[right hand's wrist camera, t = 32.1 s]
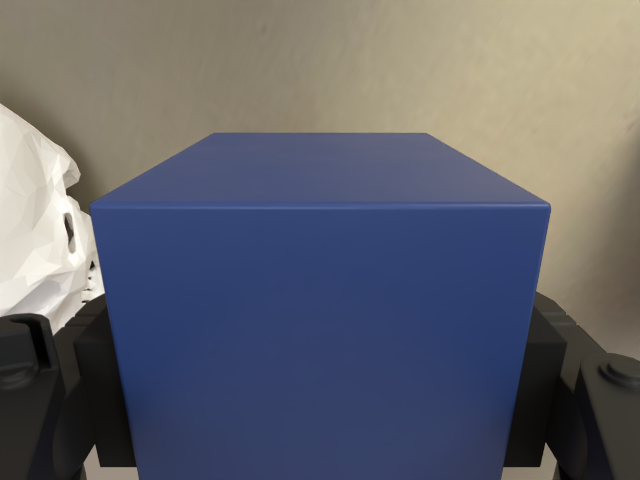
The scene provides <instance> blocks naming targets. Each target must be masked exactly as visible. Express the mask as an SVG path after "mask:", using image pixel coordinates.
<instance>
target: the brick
mask: <svg viewBox="0 0 640 480" xmlns="http://www.w3.org/2000/svg"><path fill="white" fill-rule="evenodd" d="M89 210H90V216H91V221H92V227H93V232H94V237H95V243H96V248H97V254H98V259H99V265H100V270H101V275H102V281H103V286H104V292H105V297H106V303H107V308H108V313H109V319H110V324H111V330H112V335H113V340H114V346H115V351H116V357H117V362H118V368H119V373H120V378H121V384H122V389H123V395H124V400H125V406H126V411H127V416H128V422H129V427H130V433H131V438H132V444H133V449H134V454H135V460H136V465H137V471H138V476H139V480H501V476H502V471H503V465H504V460H505V455H506V449H507V444H508V438H509V433H510V428H511V422H512V417H513V412H514V406H515V401H516V395H517V390H518V385H519V379H520V374H521V369H522V363H523V358H524V352H525V347H526V342H527V336H528V331H529V326H530V320H531V315H532V309H533V304H534V299H535V293H536V288H537V283H538V277H539V272H540V266H541V261H542V256H543V250H544V245H545V240H546V234H547V229H548V223H549V218H550V213H551V206H550V204H549V203H548V202H546V201H544V200H542V199H541V198H539V197H537V196H535V195H534V194H532V193H530V192H528V191H527V190H525V189H523V188H522V187H520V186H518V185H516V184H515V183H513V182H511V181H509V180H508V179H506V178H504V177H502V176H501V175H499V174H497V173H495V172H494V171H492V170H490V169H488V168H487V167H485V166H483V165H481V164H480V163H478V162H476V161H474V160H473V159H471V158H469V157H467V156H466V155H464V154H462V153H460V152H459V151H457V150H455V149H454V148H452V147H450V146H448V145H447V144H445V143H443V142H441V141H440V140H438V139H436V138H434V137H433V136H431V135H429V134H427V133H213V134H211V135H209V136H208V137H206V138H204V139H202V140H201V141H199V142H197V143H195V144H194V145H192V146H190V147H188V148H187V149H185V150H183V151H181V152H180V153H178V154H176V155H174V156H173V157H171V158H169V159H167V160H166V161H164V162H162V163H160V164H159V165H157V166H155V167H153V168H152V169H150V170H148V171H146V172H145V173H143V174H141V175H139V176H138V177H136V178H134V179H132V180H131V181H129V182H127V183H125V184H124V185H122V186H120V187H118V188H117V189H115V190H113V191H111V192H110V193H108V194H106V195H104V196H103V197H101V198H99V199H97V200H96V201H94V202H92V203H91V204H90V208H89Z"/></svg>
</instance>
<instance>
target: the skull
mask: <svg viewBox="0 0 640 480" xmlns="http://www.w3.org/2000/svg"><path fill="white" fill-rule="evenodd" d="M80 175H81V174H80V172H79V169H78V167H77V165H76V163H75V162H74V160H73V159H72V158H71V157H70V156H69V155H68V154H67V152H66V151H65V150H64V149H63V148H62V147H60V146H59V145H57V144H55V143H53V142H52V141H51V140H49V139H48V138H47V137H45V136H44V135H43V134H42V133H41V132H39V131H38V130H37V129H36V128H35V127H33V126H32V125H30V124H29V123H28V122H26V121H25V120H24V119H22V118H21V117H19V116H18V115H17V114H15V113H14V112H12V111H11V110H9V109H8V108H6V107H5V106H3V105H2V104H0V317H2V316H7V315H12V314H21V313H34V314H41V315H43V316H45V317H46V318H48V319H49V321H50V325H51V329H52V333H53V335H54V334H55V333H56V332H57V331H58V330H59V329H60V328H61V327H65V324H66V323H67V322H68V321H69V320H70V319H71V318H72V317H75V314H76V313H77V312H78V311H79V310H80V309H81V308H82V307H83V306H84V305H85V304H86V303H82V301H84V300H86V301H87V302H89V301H90V300H92V299H94V298H96V297H98V296H100V295H102V294H103V293H105V292H104V286H103V281H102V275H101V270H100V265H99V259H98V254H97V248H96V243H95V237H94V232H93V227H92V221H91V216H89V215H88V214H86V213H84V212H82V211H81V210H80V207H79V204H78V202H77V201H75V200H74V199H73V198H71V197H70V196H67V195H66V188H68V187H70V186H72V185H74V184H75V183H77V182H78V181H79V178H80ZM65 215H66V218H67V221H68V223H69V226H70V228H71V230H72V232H73V233H74V235H73V237H72V239H71V241H70V243H69V245H68V235H67V232H66V228H65V225H64V221H65ZM92 261H93V262H94V265H95V266H94V267H93V268H92V269H90V265H91V262H92ZM88 277H90V279H88ZM87 289H90V291H87ZM83 290H86V291H83Z"/></svg>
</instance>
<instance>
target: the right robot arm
mask: <svg viewBox="0 0 640 480" xmlns="http://www.w3.org/2000/svg"><path fill="white" fill-rule="evenodd" d="M545 442H546V443H547V445H548V446H549V448H550V450H551V451H552V453H553V455H554V456H555V458H556V460H557V464H556V468H555V472H554V476H553V480H640V361H638V360H636V359H633V358H630V357H626V356H622V355H618V354H613V353H607V352H606V351H605V350H603V349H602V348H601V347H600V346H599V345H598V344H597V343H596V342H595V341H594V340H593V339H592V338H591V337H590V336H589V335H588V334H587V333H586V332H585V331H584V330H583V329H582V328H581V327H580V326H579V325H576V322H575V321H574V320H573V319H572V318H571V317H570V316H569V315H566V312H565V311H564V310H563V309H562V308H561V307H560V306H559V305H558V304H557V303H555V302H554V301H553V300H551V299H549V298H548V297H546V296H544V295H542V294H540V293H538V292H536V293H535V299H534V304H533V309H532V315H531V320H530V326H529V331H528V336H527V342H526V347H525V352H524V358H523V363H522V369H521V374H520V379H519V385H518V390H517V395H516V401H515V406H514V412H513V417H512V422H511V428H510V433H509V438H508V444H507V449H506V455H505V460H504V465H503V467H540V465H541V460H542V456H543V451H544V447H545ZM94 444H95V445H96V450H97V454H98V459H99V463H100V467H137V465H136V460H135V454H134V449H133V444H132V438H131V433H130V427H129V422H128V416H127V411H126V406H125V400H124V395H123V389H122V384H121V378H120V373H119V368H118V362H117V357H116V351H115V346H114V340H113V335H112V330H111V324H110V319H109V313H108V308H107V303H106V297H105V293H103V294H102V295H100V296H98V297H96V298H94V299H92V300H90V301H89V302H87V303H86V304H85V305H84V306H83V307H82V308H81V309H80V310H79V311H78V312H77V313H76V314H75V317H72V318H71V319H70V320H69V321H68V322H67V323H66V324H65V327H61V328H60V329H59V330H58V331H57V332H56V333H55V334H54V335H53V333H52V329H51V325H50V321H49V319H48V318H46V317H45V316H43V315H41V314H34V313H21V314H12V315H7V316H2V317H0V480H87V478H86V472H85V468H84V464H83V463H84V461H85V459H86V458H87V456H88V454H89V453H90V451H91V449H92V448H93V446H94Z"/></svg>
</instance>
